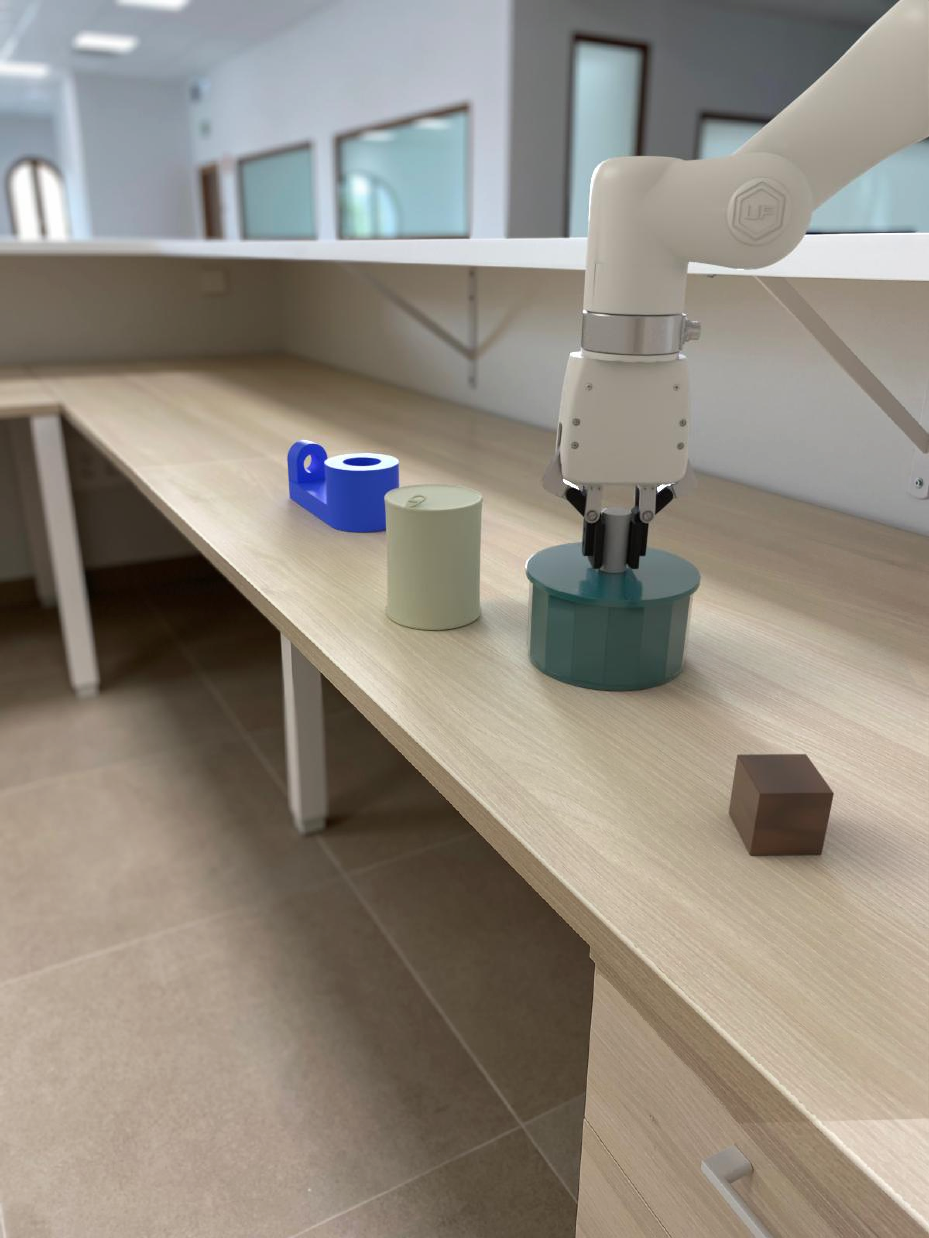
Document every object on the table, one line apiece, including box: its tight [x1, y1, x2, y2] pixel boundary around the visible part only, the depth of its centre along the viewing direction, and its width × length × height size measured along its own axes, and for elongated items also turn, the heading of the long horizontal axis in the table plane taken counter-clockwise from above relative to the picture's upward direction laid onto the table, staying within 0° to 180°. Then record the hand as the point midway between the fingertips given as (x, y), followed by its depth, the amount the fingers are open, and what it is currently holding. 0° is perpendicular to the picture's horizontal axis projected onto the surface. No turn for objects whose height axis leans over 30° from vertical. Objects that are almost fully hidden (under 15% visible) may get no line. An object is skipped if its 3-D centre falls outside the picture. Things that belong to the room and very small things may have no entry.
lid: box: [524, 506, 701, 608], centre depth 78 cm, size 15×15×6 cm
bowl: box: [526, 580, 694, 692], centre depth 80 cm, size 14×14×8 cm
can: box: [384, 483, 484, 631], centre depth 88 cm, size 9×9×12 cm
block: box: [728, 753, 835, 856], centre depth 57 cm, size 4×4×4 cm
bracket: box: [286, 439, 400, 533], centre depth 119 cm, size 20×9×8 cm, turn 38°
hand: (612, 562), depth 78 cm, fingers closed on lid, 2 cm apart
